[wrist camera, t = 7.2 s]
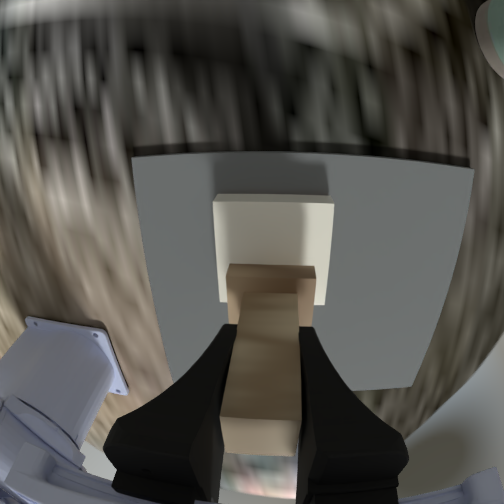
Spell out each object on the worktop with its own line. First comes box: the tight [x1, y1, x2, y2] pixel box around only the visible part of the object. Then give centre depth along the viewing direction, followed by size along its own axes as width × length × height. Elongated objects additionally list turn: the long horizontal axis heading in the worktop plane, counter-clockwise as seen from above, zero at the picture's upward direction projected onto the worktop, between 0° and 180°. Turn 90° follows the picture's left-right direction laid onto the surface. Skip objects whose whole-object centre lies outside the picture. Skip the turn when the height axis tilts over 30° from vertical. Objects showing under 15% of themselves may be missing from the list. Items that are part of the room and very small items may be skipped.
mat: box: [132, 151, 474, 391], centre depth 20 cm, size 20×18×1 cm
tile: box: [213, 194, 334, 305], centre depth 18 cm, size 6×2×6 cm
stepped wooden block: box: [220, 263, 316, 456], centre depth 13 cm, size 4×4×8 cm
